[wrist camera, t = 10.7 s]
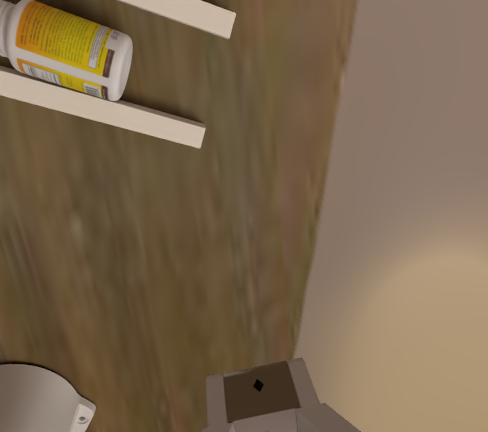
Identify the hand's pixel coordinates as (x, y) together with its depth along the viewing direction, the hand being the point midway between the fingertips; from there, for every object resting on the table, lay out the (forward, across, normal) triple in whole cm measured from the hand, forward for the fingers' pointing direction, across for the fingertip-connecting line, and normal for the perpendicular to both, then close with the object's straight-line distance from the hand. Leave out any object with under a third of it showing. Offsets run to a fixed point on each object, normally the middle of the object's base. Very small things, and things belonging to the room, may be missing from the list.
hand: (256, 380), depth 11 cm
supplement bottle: (+26, +6, -8) cm, 28 cm away
